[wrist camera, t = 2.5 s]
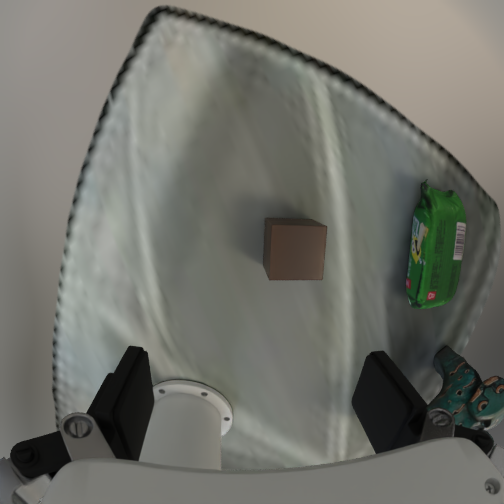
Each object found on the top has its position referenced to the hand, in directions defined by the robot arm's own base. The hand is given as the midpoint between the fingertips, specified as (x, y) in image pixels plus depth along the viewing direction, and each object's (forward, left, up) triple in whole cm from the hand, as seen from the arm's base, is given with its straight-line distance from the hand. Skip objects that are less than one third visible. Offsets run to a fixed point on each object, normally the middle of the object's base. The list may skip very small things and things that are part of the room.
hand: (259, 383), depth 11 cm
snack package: (+23, +2, -20) cm, 30 cm away
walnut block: (+5, +2, -20) cm, 20 cm away
